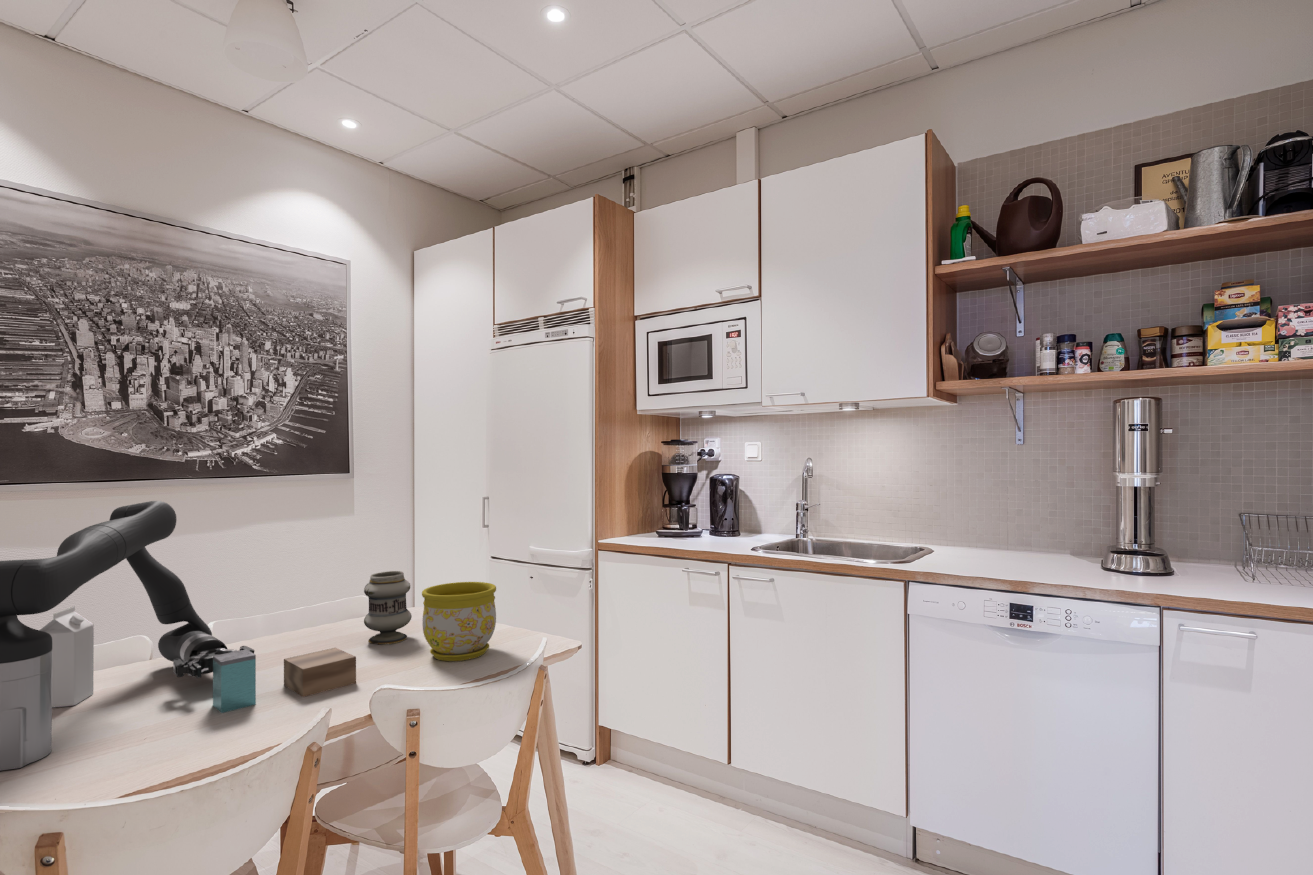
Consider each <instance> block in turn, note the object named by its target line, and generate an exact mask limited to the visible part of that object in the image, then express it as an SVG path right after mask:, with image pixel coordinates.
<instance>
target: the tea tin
mask: <svg viewBox="0 0 1313 875" xmlns="http://www.w3.org/2000/svg"><path fill="white" fill-rule="evenodd" d="M239 650H240V649H239ZM256 657H257V656H256V654H255V653H254V654H253V653H252V652H250V651H249V650H247V649H245V650H240V651H238V650H237V651H235V652H230V653H225V654H220V655H215V656H213V672H212V706H213V707H214V708H215V709H216V710H218V712H219V713H220V714H224V713H228V712H231V711H235V710H236V711H237V710H240V709H243V708H248V707H252V706H255V705H257V695H256V694H257V692H256V691H257V690H256V688H257V686H256V684H257V683H256V675H257V673H256V672H257V670H256V669H257V667H256V666H257V664H256V663H257V659H256Z"/></svg>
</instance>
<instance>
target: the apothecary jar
mask: <svg viewBox="0 0 1313 875" xmlns="http://www.w3.org/2000/svg"><path fill="white" fill-rule="evenodd" d="M369 577H370V579H369V581H368V583H366V585H365V586H364V588H363V593H364V594H365V595H366V597H368V613H367V614H366V615H365V617H364V619H363V623H364V626H365V627H367V629H369V630H371V631H374V632H379V633H377V634H375V635H373V636H371V637H369V639H368V643H369V644H373V645H375V644H376V645H378V646H379V645H381V646H382V645H392V644H397V643H401V642H403V641H405V640H407V639H408V635H407V634H406V633H403V632H400V631H397V630H400V629H403V628H404V627H405V626H407V625H408V624H409V623H410V622H411V620H412V613H411V611H410V610H409V609H408V608H407V593H408V592H410V589H411V583H410V582H409V580H407V579H406V578H405V574H404V571H400V570H389V571H381V572H376V573H373V574H371V575H370V576H369Z"/></svg>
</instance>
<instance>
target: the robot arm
mask: <svg viewBox="0 0 1313 875" xmlns="http://www.w3.org/2000/svg"><path fill="white" fill-rule="evenodd" d="M177 521H178V520H177V514H176V512H175V509H174V508H173V507H172V505H170V504H169V503H167V502H165V501H162V500H151V501H150V500H149V501H143V502H140V503H134V504H133V503H132V504H128V505H122V506H120V507H116V508H115V509H114V510H113V511H112V512H111V514H110V517H109V520H106V521H102V522H98V523H96V524H92V525H90V526H87V527H85V528H82V529H81V530H78V531H76V532H73V533H71V535H69V536H68V537H66V538H65V539H64V540H63V541H61V543H60V544H59V547H58V548H57V551H56V556H53V557H48V558H31V559H12V560H11V559H8V560H0V771H7V770H8V771H9V770H13V769H14V770H16V769H20V768H23V767H24V766H26V765H29V764H32V763H34V762H37V761H39V760H41V759H44V758H45V757H46V756H48V755H50V754H51V752H52V743H53V742H52V738H53V737H52V736H53V734H52V733H53V729H52V728H53V727H52V726H53V723H52V722H53V721H52V720H53V718H52V717H53V708H52V637H51V635H50V634H49V633H47V632H43V631H40V629H35V628H32V627H30V626H28V625H25V624H24V623H23V622H21V621H20V619H19V618H18V616H28V615H29V616H30V615H37V614H38V615H39V614H42V613H45V612H48V611H50V610H52V609H54V608H55V607H57V606H58V605H60V604H61V603H63V602H64V601H65V600H66V599H67V598H69V597H70V596H71V595H72V594H73V593H74V592H75V591H76V590H78V589H80V587H82V586H83V585H84V584H87V583H88V582H90V581H91V580H92V579H94V578H95V577H97V576H98V575H101V574H103V573H105V572H106V571H108V570H110V569H112V568H113V567H116V566H117V565H118V564H119V563H121V562H123V561H124V560H126V561H127V562H128V564H129V566H130V567H131V568H132V570H133V571H134V573H135V574H136V576H137V577H138V579H139V581H140V582H141V584H142V586H143V587H144V589H145V591H146V594H147V596H148V598H149V600H150V603H151V606H152V608H153V611H154V614H155V616H156V618H157V621H158V622H159V624H162V625H173V624H178V623H182V622H186V624H183V625H181V626H179V627H177V628H174V629H171V630H170V631H167V632H166V633H163V635H161V637H160V638H159V640H158V642H157V648H158V650H159V653H160V654H161V655H162V657H163V658H164V659H165V660H168V661H170V662H173V664H172V665H173V668H172V670H173V671H172V672H173V673H174V675H175V676H176V677H177V678H183V677H185V674H187V676H191V677H195V678H196V679H199V678H202V675H209V674H211V673H212V674H213V656H215V655H220V654H225V653H230V652H235V651H240V650H245V649H247V650H249V651H250V652H252V653H253V654H255V649H254V648H251V647H249V646H247V645H241V646H240V647H239V650H238V649H235V648H234V649H232V648H231V649H230V648H229V649H228V647H227V645H226V644H225V643H224V642H223V641H222V640H220V639H218V638H217V637H215V636H213V633H212V632H213V631H212V630H211V628H210V627H209V626H208V625H207V623H206V622H205V621H204V620H203V619H202V618H201V616H199V615H198V613H197V611H196V610H195V608H194V606H193V605H192V602H191V600H190V596H189V594H188V591H187V589H186V586H185V585H184V583H183V581H182V580H181V578H180V577H179V576H178V575H177V574H176V573H174V572H173V571H171V570H170V569H169V568H167V567H166V566H165V565H163V564H162V563H161V562H159V561H158V560H157V559H156V558H154V556H152V554H151V553H150V552H149V551H148V550H147V548H146V547H147V546H149V545H152V544H154V543H157V542H159V541H163V540H165V539H167V538H169V536H171V535H172V534H173V532H174V531H175V529H176V526H177Z"/></svg>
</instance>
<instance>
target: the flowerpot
mask: <svg viewBox="0 0 1313 875" xmlns="http://www.w3.org/2000/svg"><path fill="white" fill-rule="evenodd" d="M495 592H497V586H496V585H495V584H494V583H490V582H484V581H482V582H481V581H460V582H449V583H448V582H447V583H442V584H437V585H432V586H428V587H427V588H424V589H422V592H421V596H422V598H423V610H422V611H423V612H422V632H423V636H424V638H425V640H426V642H427V644H428V645H429V646H430V647H431V648H430V650H429V652H430V654H431V655H432V656H433V657H434V659H436V660H439V661H443V662H460V661H461V662H462V661H468V660H472V659H477V658H479V657H482V656H483V655H484V654H485V653H486V652H487V650H489V648H490V644H489V642H490V640H491V639H492V636H493V635H494V632H495V629H496V625H497V624H496V623H497V611H496V602H495V599H496V596H495Z"/></svg>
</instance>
